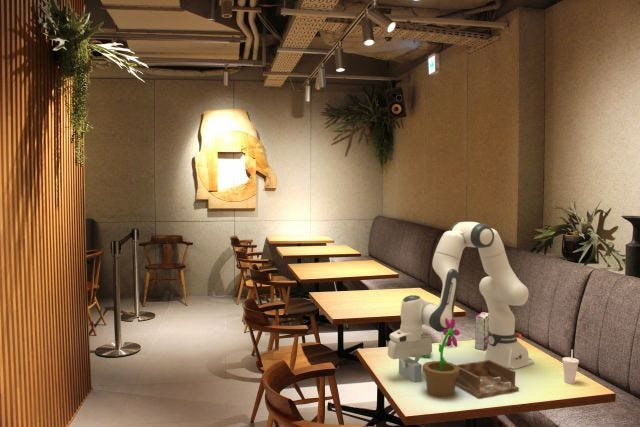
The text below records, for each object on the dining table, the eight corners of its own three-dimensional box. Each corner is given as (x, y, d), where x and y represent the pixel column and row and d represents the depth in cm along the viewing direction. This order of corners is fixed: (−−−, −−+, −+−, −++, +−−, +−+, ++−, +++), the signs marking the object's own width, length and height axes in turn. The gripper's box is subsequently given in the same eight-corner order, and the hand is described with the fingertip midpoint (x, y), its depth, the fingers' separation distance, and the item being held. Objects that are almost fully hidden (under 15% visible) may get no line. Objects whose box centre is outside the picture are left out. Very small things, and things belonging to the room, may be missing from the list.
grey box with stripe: (398, 372, 239) (398, 356, 239) (405, 371, 241) (406, 355, 240) (413, 382, 229) (414, 365, 228) (421, 381, 230) (421, 364, 229)
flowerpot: (466, 397, 213) (468, 321, 211) (432, 401, 209) (434, 323, 207) (447, 384, 227) (449, 312, 225) (415, 387, 223) (417, 314, 221)
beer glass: (453, 348, 274) (454, 318, 273) (439, 347, 276) (440, 317, 275) (453, 344, 281) (454, 315, 280) (439, 343, 283) (440, 314, 282)
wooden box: (489, 376, 236) (490, 359, 236) (518, 391, 221) (519, 372, 220) (451, 383, 228) (451, 365, 228) (478, 398, 213) (479, 379, 212)
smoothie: (570, 386, 227) (572, 352, 226) (557, 380, 232) (559, 348, 231) (581, 383, 230) (583, 350, 229) (568, 378, 235) (569, 346, 234)
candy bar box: (480, 343, 284) (481, 311, 283) (490, 345, 281) (491, 313, 280) (474, 349, 274) (475, 316, 273) (484, 350, 272) (485, 317, 270)
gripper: (427, 330, 241) (426, 361, 241) (386, 334, 232) (385, 367, 233) (435, 333, 235) (434, 365, 236) (394, 338, 227) (393, 372, 228)
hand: (409, 366), depth 234 cm, fingers closed on grey box with stripe, 4 cm apart
